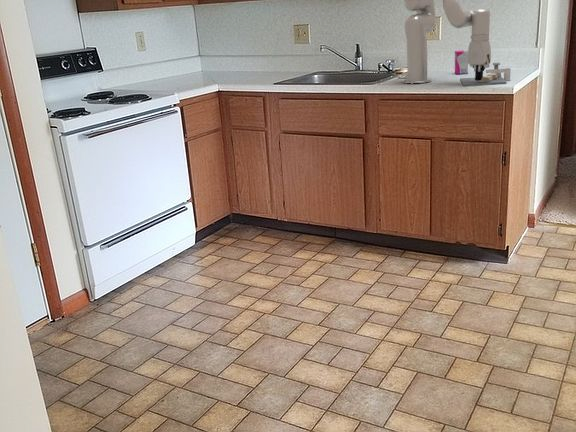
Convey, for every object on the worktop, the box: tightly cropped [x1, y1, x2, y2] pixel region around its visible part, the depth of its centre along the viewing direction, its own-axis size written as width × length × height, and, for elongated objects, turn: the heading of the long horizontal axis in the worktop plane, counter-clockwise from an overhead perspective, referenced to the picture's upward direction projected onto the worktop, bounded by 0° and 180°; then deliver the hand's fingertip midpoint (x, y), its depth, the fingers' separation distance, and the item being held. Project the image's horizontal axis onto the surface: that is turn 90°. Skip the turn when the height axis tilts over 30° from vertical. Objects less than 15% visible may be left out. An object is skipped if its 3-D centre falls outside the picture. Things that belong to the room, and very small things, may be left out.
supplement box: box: [454, 49, 469, 76], centre depth 314 cm, size 6×6×12 cm
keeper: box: [485, 67, 511, 82], centre depth 282 cm, size 10×2×5 cm, turn 79°
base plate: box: [459, 76, 507, 87], centre depth 284 cm, size 18×20×1 cm
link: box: [481, 62, 502, 82], centre depth 283 cm, size 18×4×6 cm, turn 145°
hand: (478, 80), depth 280 cm, fingers closed
